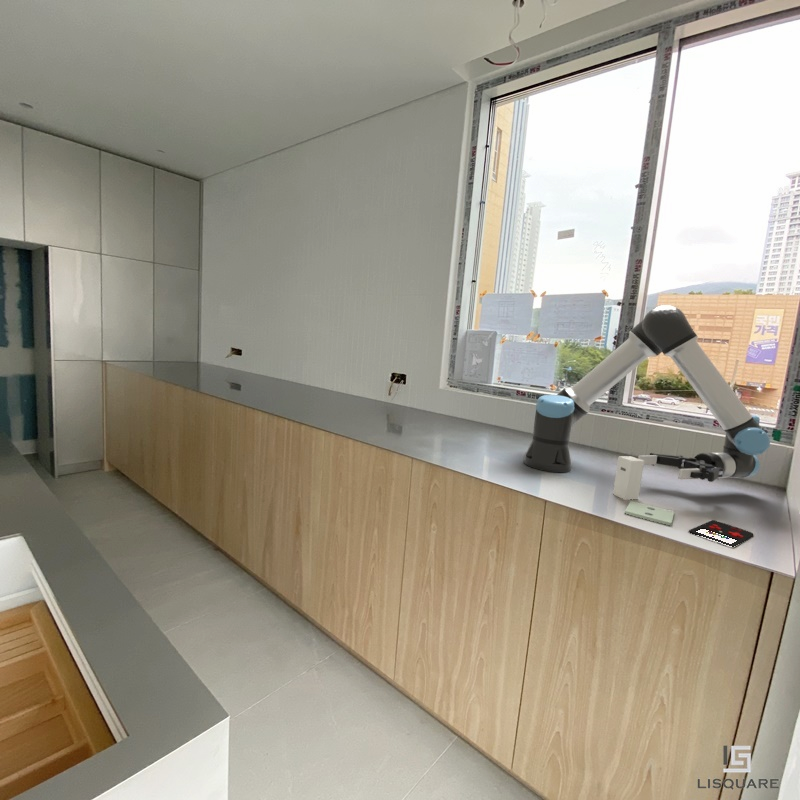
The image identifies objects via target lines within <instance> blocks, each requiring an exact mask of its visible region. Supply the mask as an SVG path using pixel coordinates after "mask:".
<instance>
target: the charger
mask: <svg viewBox="0 0 800 800" xmlns="http://www.w3.org/2000/svg"><path fill="white" fill-rule="evenodd" d="M644 466H645V465H644V461H643V460H641V459H638V458H637V457H634V456H630V455H628V456H627V455H625V456H624V455H623V456H621V455H620V456H618V459H617V464H616V471H615V478H614V484H613V491H612V495H613V494H614V496H615V497H618V498H620V499H622V498H623V499H622V500H624V499H625V500H624V501H634V500H633V499H638V500H639V496H640V489H641V483H642V478H643V472H644ZM630 499H632V500H630Z"/></svg>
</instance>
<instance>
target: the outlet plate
mask: <svg viewBox="0 0 800 800" xmlns="http://www.w3.org/2000/svg"><path fill="white" fill-rule="evenodd" d="M624 513H626V514H625V515H627V514H629V515H628V516H630V515H633V516H632V517H634V516H636V517H635V518H638V517H640V518H639V519H642V518H643V519H642V520H645V519H647V520H646V521H649V520H650V522H653V521H654V522H653V523H657V522H659V523H658V524H660V523H663V524H662V525H664V524H666V525H665V526H668V525H670V526H669V527H672V523H673V519H674V515H675V511H674V510H669V509H664V508H662V507H657V506H653V505H649V504H645V503H641V502H637V501H634V500H629V503H628V504H627V507H626V508H625V510H624Z"/></svg>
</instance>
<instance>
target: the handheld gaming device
mask: <svg viewBox="0 0 800 800" xmlns="http://www.w3.org/2000/svg"><path fill="white" fill-rule="evenodd" d="M700 529H706V530H709V531H708V532H709V534H713V535H718V536H721V535H724V536H723V537H722V536H721V538H726V539H729V538H732V539H735V540H737V541H736V542H734V543H732V544H729V543H726V542H723V541H721V540H718V539H715V538H712V537H714V536H712V537H709V536H706V535H704V534H701V533H698V532H696V531H698V530H700ZM711 531H712V532H711ZM689 532H690V533H689ZM708 532H706V533H708ZM713 532H715V533H713ZM688 533H689V534H691V533H692V534H691V535H693V534H695V535H694V536H696V535H699V536H703V537H706V538H709V539H712V540H715V541H718V542H721V543H723V544H726V545H729V546H732V547H734V546H736V545H738V544H740V543H741V544H743V543H745V542H746V540H747V541H749V540H750V539H751V537H752V538H753V537H754V536H755V534H754V533H753V532H751V531H749V530H746V529H742V528H739V527H736V526H734V525H730V524H727V523H725V522H721V521H718V520H714V519H711V520H709V521H707V522H705V523H702V524H699V525H698V526H695V527H693V528H691V529H689V530H688ZM716 533H718V534H716ZM719 534H721V535H719ZM699 536H698V537H699ZM725 536H727V537H725ZM728 537H729V538H728ZM744 541H745V542H744ZM742 542H743V543H742ZM741 544H740V545H741ZM738 546H739V545H738ZM736 547H737V546H736Z"/></svg>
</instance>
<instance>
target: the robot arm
mask: <svg viewBox="0 0 800 800" xmlns="http://www.w3.org/2000/svg"><path fill="white" fill-rule="evenodd" d="M628 334H629V335H628V338H627V339H626V340H625V341H623V342H622V343H621V345H619V346H618V347H617V348H616V349H615V350H613V351H612V352H610V354H609V355H607V356H606V357H605V359H603V360H602V361H601V362H600V363H599V364H597V365H596V366H594V368H593V369H592V370H590V371H589V372H588V373H587V374H586V375H585V376H583V377H582V378H581V379H580V380H579V381H577V382H576V383H575V384H574V385H573V386H571V387H569V386H568V387H564V388H563V389H561V390H560V392H558V393H557V394H548V395H547V394H544V395H542V396H539V397H538V398H537V403H536V405H535V415H534V416H535V417H534V423H533V429H532V430H533V431H532V439H531V442H530V444H529V446H528V448H527V450H526V452H525V454H524V458H523V463H524V464H525V465H526V466H528V467H530V468H533V469H537V470H541V471H543V472H545V471H546V472H552V473H566V472H567V473H568V472H570V471H571V470H572V465H573V464H572V463H573V462H572V458H571V457H572V456H571V454H570V449H569V448H570V446H569V443H570V439H571V437H570V436H571V432H572V431H571V430H572V427H573V426H574V425H576V424H577V422H579V421H580V420H581V419H582V418H584V417H585V416H586V415H587V414H589V413H590V410H591V409H590V406H592V405H593V403H595V402H596V401H597V400H599V399H600V398H601V397H602V396H604V394H605V393H606V392H608V391H610V389H611V388H613V387H615V385H616V384H618V383H619V382H620V381H621V380H622V379H624V378H625V377H626V376H627V375H629V374H631V372H632V371H634V370H635V369H636V368H637V367H638V366H639V365H641V364H642V363H643V362H644V361H646V359H648V358H649V357H650V358H652V357H653V358H654V357H659V355H660V354H661V353H662V354H663V355H664V356H666V357H670V358H671V360H672V361H673V362H674V364H675V365H676V367H677V368H678V369H679V371H680V372H681V374H682V375H683V376H684V378H685V379H686V380H687V382H688V383H689V384H690V386H691V388H693V390H694V392H695V393H696V394H697V395H698V397H699V398H700V399H701V401H702V402H703V404H704V405H705V406H706V407H707V409H708V410H709V412H710V413H711V414H712V416H713V417H714V419H716V421H717V422H718V425H720V426H721V428H722V430H723V431H724V432H725V437H724V444H723V449H722V452H701V453H700V452H699V453H698V454H696V455H695V456H694V457H685V456H683V455H672V454H663V453H662V454H661V453H654V452H650V453H649V455H648V454H646V455H645V454H644V455H640V454H639V455H638V459H641V460H643V461H644V466H648V465H649V466H655V465H656V466H657V464H658V465H662V466H663V465H665V466H669V467H670V466H671V467H676V468H678V469H679V470H678V471H679V472H678V477H677V479H678V480H698V479H700V480H702V481H704V480H707V481H708V482H709V483H712V482H714V481H716V480H720V479H725V478H726V479H729V478H730V479H731V478H734V479H735V478H737V479H744V478H748V477H753V476H755V475H756V474H758V472H759V470H760V468H761V463H760V461H759V459H758V457H757V455H762V454H763V453H765V452H766V451H767V450H768V449H769V448H770V445H771V439H770V436H769V435H768V433H767V432H766V431H765V430H763V429H762V428H761V425H760V421H761V418H760V417H759V416H757V415H753V414H751V413H750V411H749V410H748V409H747V407H746V406H745V405H744V403H743V402H742V401H741V398H739V396H738V395H737V394H736V393H735V391H734V390H733V388H732V387H731V386H730V385H729V383H728V382H727V381H726V379H725V378H724V376H723V375H722V373H720V371H719V370H718V369H717V367H716V366H715V364H714V363H713V362H712V361H711V359H710V358H709V356H708V355H707V354H706V353H705V351H704V350H703V348H702V347H701V345H700V344H699V343H698V341H697V340H698V338H699V337H698V334H697V333H696V332H695V330H694V329H693V328H692V326H691V324H690V322H689V321H688V319H687V317H686V315H685V313H684V312H683V311H682V310H681V309H680V308H679V307H676V306H673V305H668V304H665V305H660V306H657V307H654V308H652V309H651V310H649V312H647V314H646V315H645V316H644V317H643V319H642V320H641V321H639V323H637V324H636V325H635V326H634V327H633V328H631V330H629V331H628ZM682 465H683V466H682Z"/></svg>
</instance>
